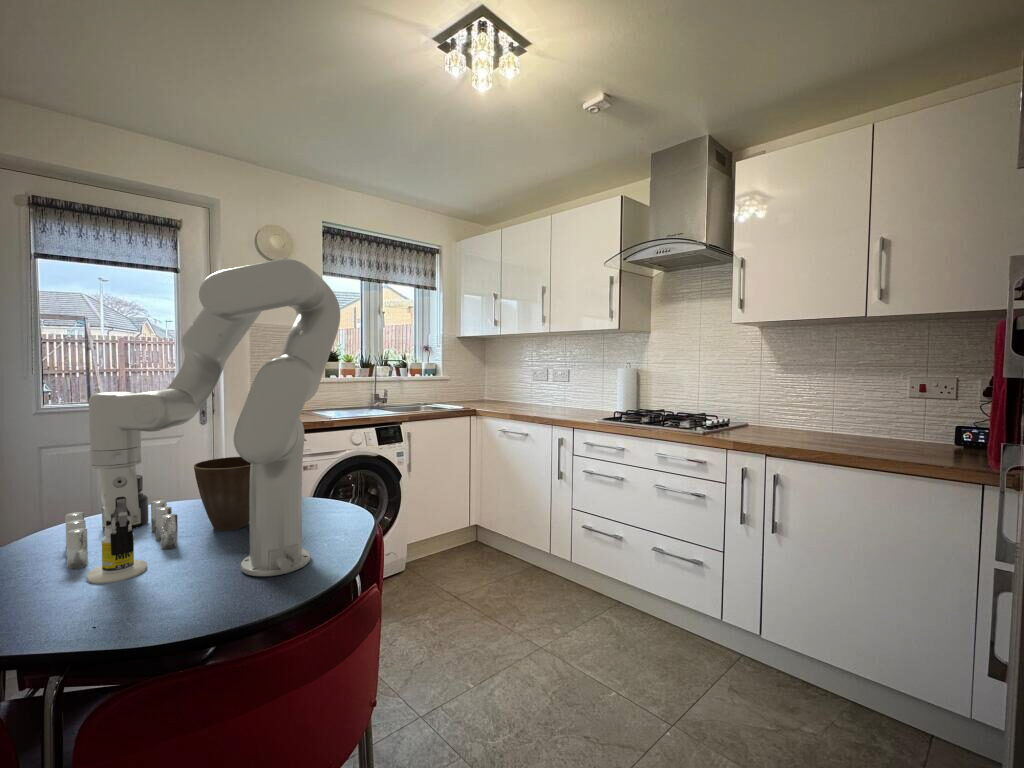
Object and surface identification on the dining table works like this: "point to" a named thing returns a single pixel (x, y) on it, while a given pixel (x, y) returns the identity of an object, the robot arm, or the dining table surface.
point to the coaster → (100, 577)
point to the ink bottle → (143, 508)
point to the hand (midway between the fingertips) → (119, 546)
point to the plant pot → (225, 491)
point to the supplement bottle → (114, 562)
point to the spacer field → (160, 524)
